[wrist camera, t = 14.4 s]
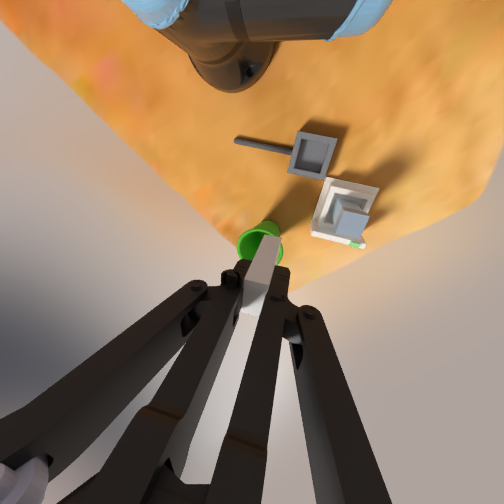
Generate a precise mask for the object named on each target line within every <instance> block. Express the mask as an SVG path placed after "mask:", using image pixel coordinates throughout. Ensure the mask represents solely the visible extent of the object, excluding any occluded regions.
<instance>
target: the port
mask: <svg viewBox="0 0 504 504" xmlns="http://www.w3.org/2000/svg"><path fill="white" fill-rule="evenodd" d="M379 189H380V188H377V187H372V186H368V185H363V184H358V183H354V182H349V181H344V180H340V179H335V178H330V177H326V179H325V182H324V185H323V188H322V191H321V194H320V197H319V200H318V202H317V205H316V208H315V211H314V214H313V217H312V220H311V223H310V224H311V236H315V237H319V238H323V239H327V240H331V241H335V242H339V243H343V244H347V245H350V246H352V247H356V248H363V249H364V248H365V247H366V245H367V244H366V242H365V241H364V239H363V237H362V235H361V237H360V239H357V238H353V237H349V236H345V235H341V234H336V233H335V231H334V226H335V225H334V222H333V219H332V216H331V212H332V209H333V206H334V204H335V201H336V198H342V199H347V200H351V201H355V202H356V203H357V205H358V206H359V207H360V208H361V209H362V211H364V212H367V214H368V212H369V210H370V208H371V205H372V203H373V201H374V199H375V197H376V195H377V193H378V191H379Z"/></svg>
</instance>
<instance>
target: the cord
mask: <svg viewBox="0 0 504 504" xmlns="http://www.w3.org/2000/svg"><path fill="white" fill-rule="evenodd" d="M234 143H235V144H240V145H245V146H249V147H254V148H259V149H264V150H269V151H274V152H279V153H284V154H288V155H291V154H292V151H293V150H292V149H288V148H283V147H278V146H273V145H268V144H263V143H258V142H253V141H248V140H244V139H239V138H235V139H234Z"/></svg>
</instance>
